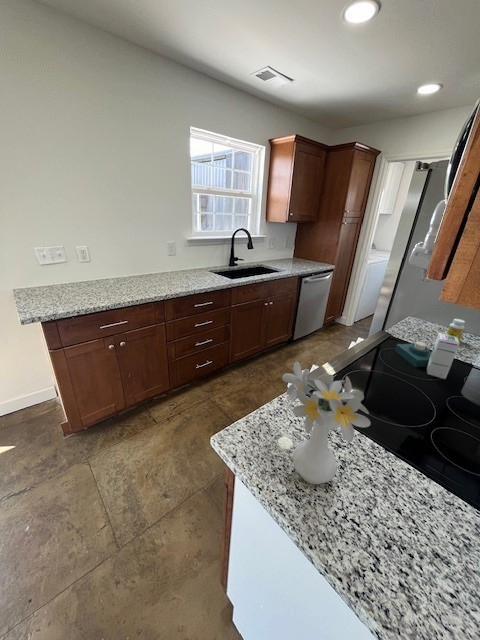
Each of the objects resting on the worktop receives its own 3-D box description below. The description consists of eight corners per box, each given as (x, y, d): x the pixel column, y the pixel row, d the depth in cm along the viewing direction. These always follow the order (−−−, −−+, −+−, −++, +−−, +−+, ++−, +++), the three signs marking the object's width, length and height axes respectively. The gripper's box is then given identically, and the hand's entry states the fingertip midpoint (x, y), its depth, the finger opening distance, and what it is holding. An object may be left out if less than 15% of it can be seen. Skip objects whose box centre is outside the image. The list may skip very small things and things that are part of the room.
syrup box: (445, 379, 92) (461, 343, 86) (426, 374, 95) (439, 338, 89) (444, 371, 97) (459, 336, 91) (425, 366, 100) (438, 332, 94)
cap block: (439, 366, 100) (443, 355, 98) (415, 367, 99) (419, 355, 97) (416, 350, 111) (420, 339, 109) (394, 350, 110) (397, 340, 108)
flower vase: (295, 430, 69) (308, 347, 59) (362, 484, 57) (393, 390, 46) (259, 457, 62) (267, 367, 52) (327, 526, 49) (355, 425, 39)
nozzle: (427, 350, 102) (428, 345, 101) (418, 350, 101) (420, 346, 100) (420, 345, 105) (421, 341, 104) (411, 346, 104) (413, 341, 104)
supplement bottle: (461, 341, 120) (470, 322, 116) (454, 343, 118) (462, 323, 114) (449, 336, 124) (456, 317, 120) (442, 337, 122) (449, 318, 118)
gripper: (410, 241, 107) (400, 274, 113) (453, 249, 88) (439, 289, 94) (424, 241, 108) (414, 274, 113) (470, 249, 89) (455, 289, 95)
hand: (425, 281), depth 104 cm, fingers closed
